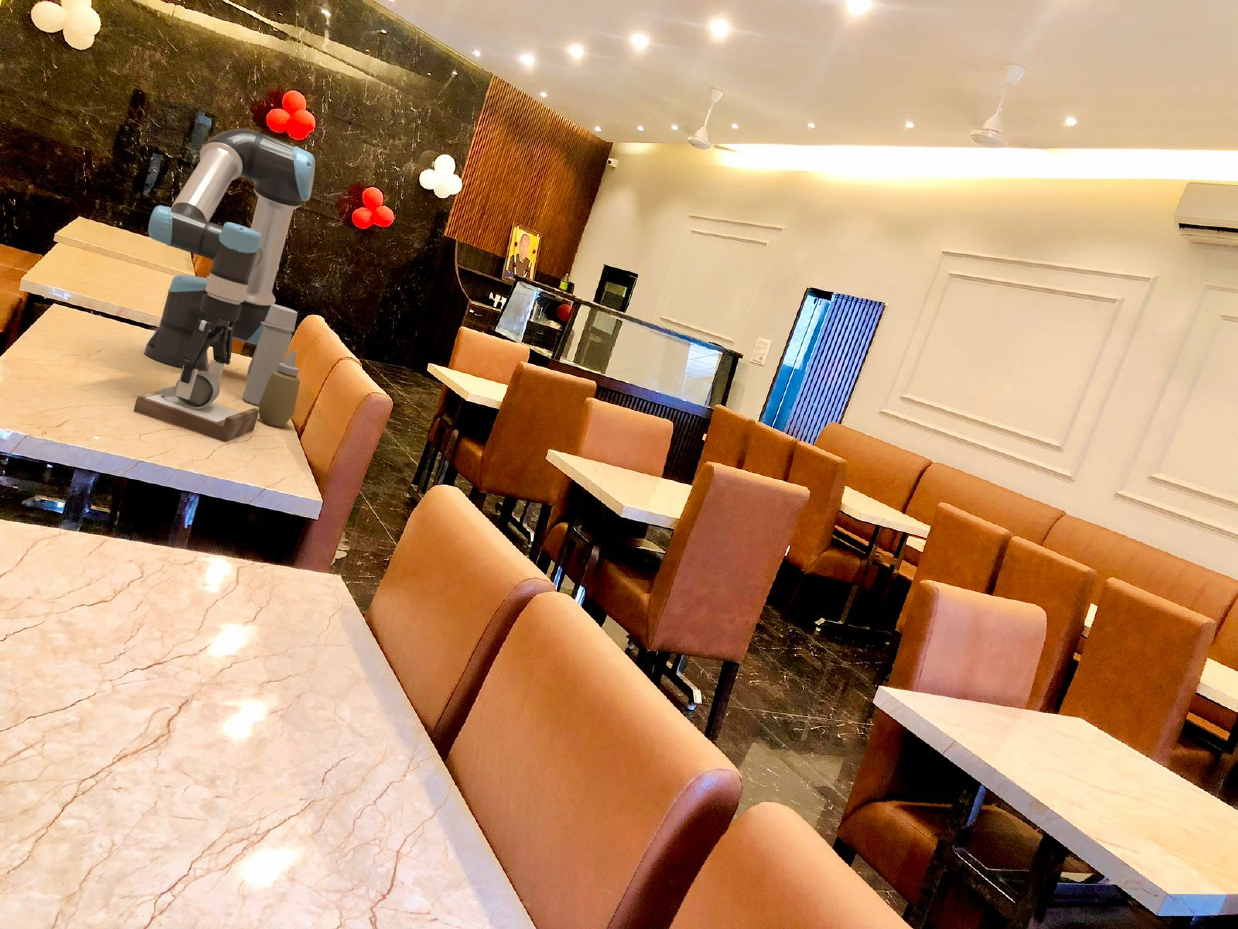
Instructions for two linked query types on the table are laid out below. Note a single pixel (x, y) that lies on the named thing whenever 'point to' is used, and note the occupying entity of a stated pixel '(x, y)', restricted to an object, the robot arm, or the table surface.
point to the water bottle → (269, 350)
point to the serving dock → (199, 419)
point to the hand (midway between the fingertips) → (196, 393)
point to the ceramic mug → (198, 391)
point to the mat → (208, 412)
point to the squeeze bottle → (280, 394)
